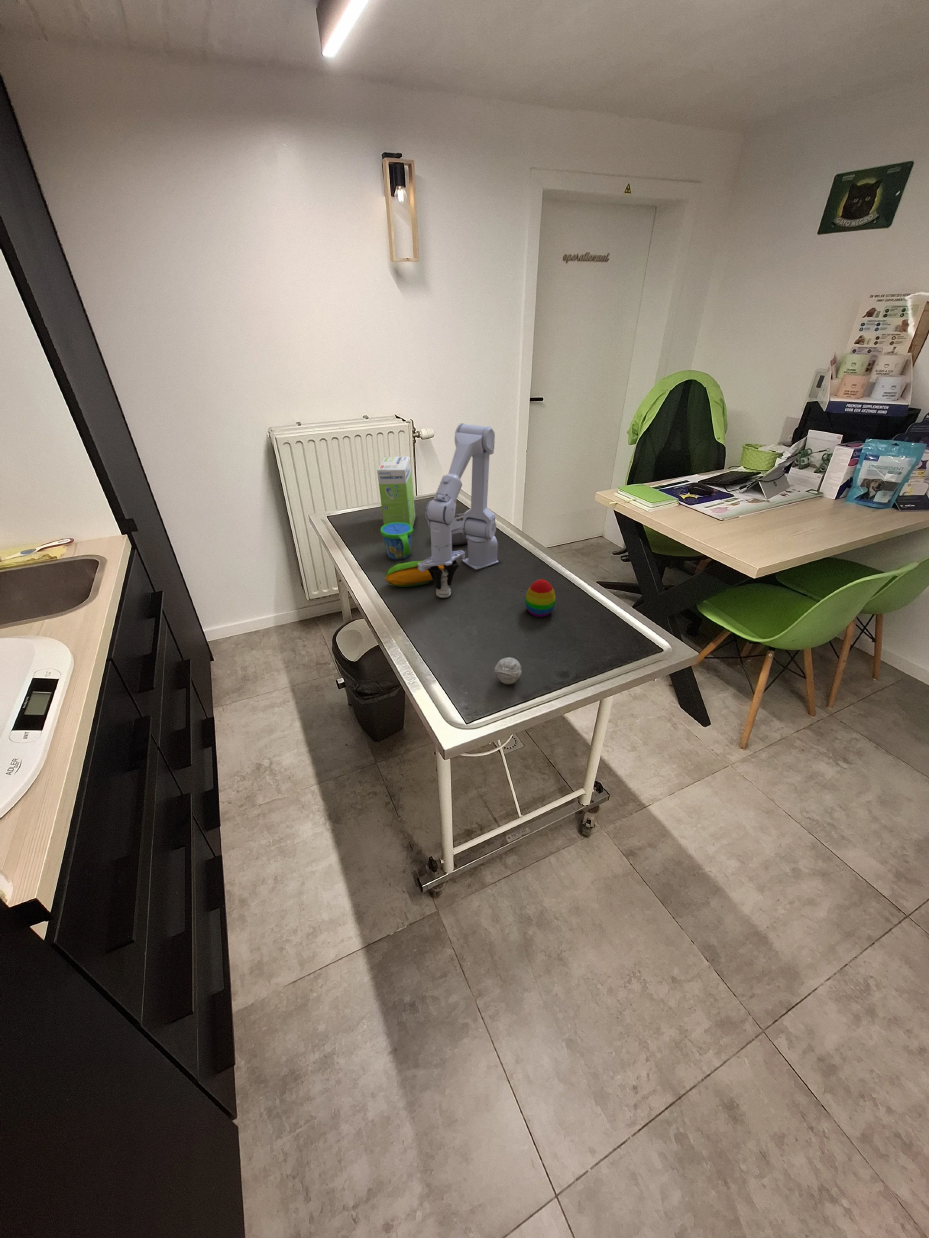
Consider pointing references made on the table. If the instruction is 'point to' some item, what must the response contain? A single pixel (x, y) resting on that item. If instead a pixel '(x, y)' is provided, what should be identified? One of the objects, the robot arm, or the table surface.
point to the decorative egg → (540, 598)
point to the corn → (408, 574)
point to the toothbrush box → (396, 490)
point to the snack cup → (397, 539)
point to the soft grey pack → (458, 530)
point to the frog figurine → (508, 670)
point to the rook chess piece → (443, 586)
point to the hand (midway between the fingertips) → (443, 586)
